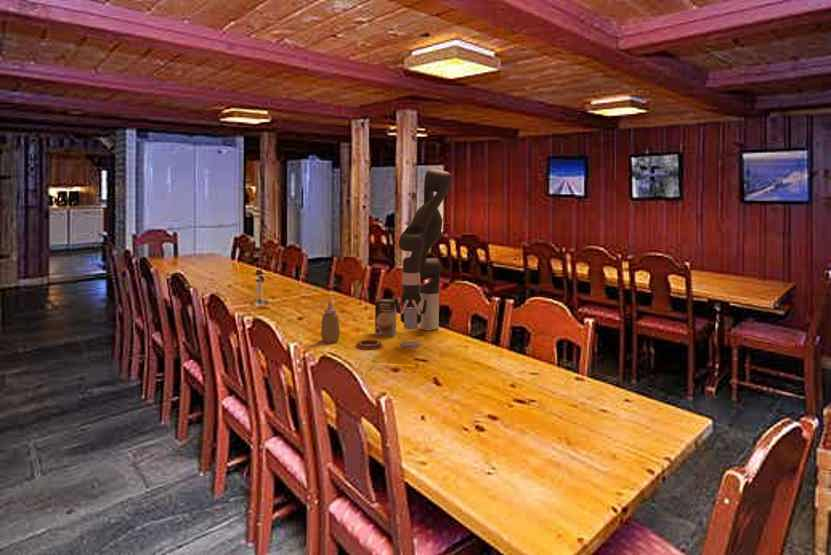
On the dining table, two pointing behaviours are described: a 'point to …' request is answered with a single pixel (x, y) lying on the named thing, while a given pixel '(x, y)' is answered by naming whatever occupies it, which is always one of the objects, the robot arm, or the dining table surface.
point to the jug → (410, 318)
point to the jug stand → (369, 345)
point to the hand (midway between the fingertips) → (411, 322)
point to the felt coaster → (410, 344)
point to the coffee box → (385, 317)
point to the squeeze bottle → (330, 325)
